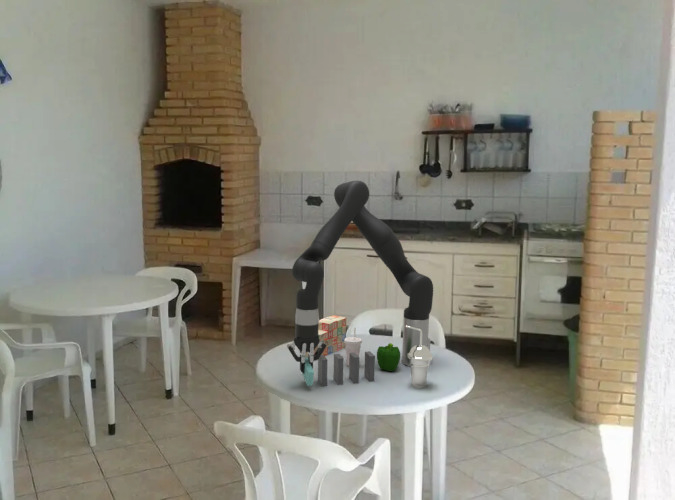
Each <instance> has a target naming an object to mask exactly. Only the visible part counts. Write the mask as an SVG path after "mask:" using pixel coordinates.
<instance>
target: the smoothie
mask: <svg viewBox="0 0 675 500" xmlns="http://www.w3.org/2000/svg"><path fill="white" fill-rule="evenodd" d="M362 342H363V340H362V338H360V337H356V327H354V328H353V336H348V337H347V336H346V338H345V339H344V343H345V347H346V348H345V355H346V356H345V358H346V366H348V367H349V356H350V353H356V354H357V355H358V356H359V357H360V352H361V345H362Z"/></svg>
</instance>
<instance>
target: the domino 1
mask: <svg viewBox="0 0 675 500" xmlns="http://www.w3.org/2000/svg"><path fill="white" fill-rule="evenodd" d="M314 374H315V371H314V368H313V369H312V366H311V364H310V363H309V360H308V358H307V357H305V373H304V374H303V373H302V372H301V375H302V377H303V379H304V381H305V384H306V386H313V384H314Z"/></svg>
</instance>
